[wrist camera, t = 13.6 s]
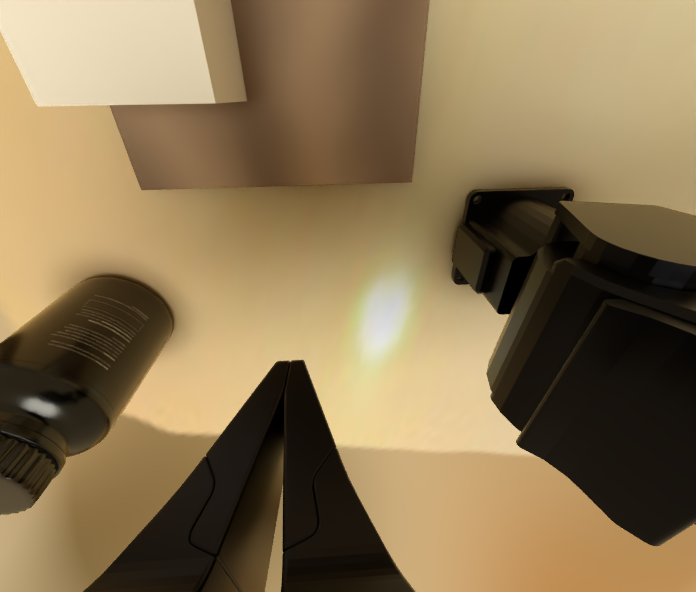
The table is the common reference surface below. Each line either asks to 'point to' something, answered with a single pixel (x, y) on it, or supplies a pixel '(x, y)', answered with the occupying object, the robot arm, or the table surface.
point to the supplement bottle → (72, 379)
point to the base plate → (296, 102)
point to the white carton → (125, 51)
